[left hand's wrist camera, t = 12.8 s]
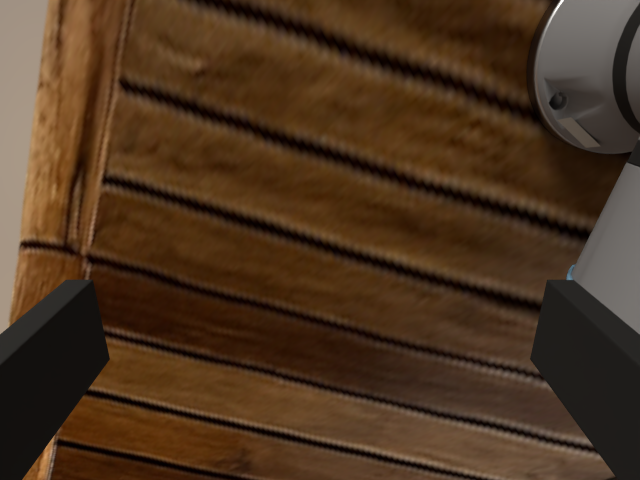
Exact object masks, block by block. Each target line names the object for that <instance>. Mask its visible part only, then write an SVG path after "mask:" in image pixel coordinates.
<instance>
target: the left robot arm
mask: <svg viewBox="0 0 640 480" xmlns="http://www.w3.org/2000/svg"><path fill="white" fill-rule="evenodd" d="M527 86H528V92H529V97H530V100H531V104H532V106H533V109H534V111H535V113H536V115H537V117H538V118H539V120H540V121H541V123H542V124H543V125H544V127H545V128H546V129H547V130H548V131H549V132H550V133H551V134H553V135H554V136H555V137H556V138H558V139H559V140H561V141H563V142H565V143H567V144H569V145H572V146H574V147H577V148H581V149H584V150H587V151H591V152H596V153H604V154H617V153H625V152H631V151H632V153H631V155H630V157H629V159H628V161H627V162H626V164H625V166H624V168H623V170H622V172H621V174H620V176H619V178H618V180H617V182H616V184H615V186H614V188H613V190H612V192H611V194H610V196H609V198H608V200H607V202H606V204H605V206H604V208H603V210H602V212H601V214H600V216H599V218H598V220H597V222H596V224H595V226H594V228H593V230H592V232H591V234H590V236H589V238H588V240H587V242H586V244H585V246H584V248H583V251H582V253H581V255H580V257H579V259H578V261H577V263H576V264H575V265H572V266H571V268H570V269H569V271H568V274H567V277H566V280H547V283H546V288H545V293H544V297H543V302H542V307H541V311H540V316H539V321H538V325H537V330H536V335H535V339H534V344H533V349H532V353H531V358H530V359H531V361H532V362H533V364H534V365H535V366H536V368H537V369H538V370H539V372H540V373H541V375H542V376H543V377H544V379H545V380H546V381H547V383H548V384H549V386H550V387H551V388H552V390H553V391H554V392H555V394H556V395H557V397H558V398H559V399H560V401H561V402H562V403H563V405H564V406H565V408H566V409H567V410H568V412H569V413H570V414H571V416H572V417H573V419H574V420H575V421H576V423H577V424H578V425H579V427H580V428H581V430H582V431H583V432H584V434H585V435H586V436H587V438H588V439H589V441H590V442H591V443H592V445H593V446H594V447H595V449H596V450H597V452H598V453H599V454H600V456H601V457H602V458H603V460H604V461H605V463H606V464H607V465H608V467H609V468H610V469H611V471H612V472H613V474H614V475H615V476H616V478H617V479H618V480H640V0H553V2H552V3H551V4H550V6H549V7H548V9H547V10H546V12H545V14H544V15H543V17H542V19H541V21H540V23H539V25H538V27H537V29H536V32H535V35H534V37H533V40H532V43H531V47H530V51H529V56H528V63H527ZM109 359H110V358H109V353H108V349H107V344H106V339H105V335H104V330H103V325H102V321H101V316H100V311H99V307H98V302H97V297H96V293H95V288H94V283H93V280H66V281H64V282H63V283H62V284H61V285H59V286H58V287H57V288H56V289H55V290H53V291H52V292H51V293H50V294H49V295H47V296H46V297H45V298H44V299H43V300H41V301H40V302H39V303H38V304H36V305H35V306H34V307H33V308H32V309H30V310H29V311H28V312H27V313H26V314H24V315H23V316H22V317H21V318H20V319H18V320H17V321H16V322H15V323H14V324H12V325H11V326H10V327H9V328H7V329H6V330H5V331H4V332H3V333H1V334H0V480H22V479H23V478H24V476H25V475H26V474H27V472H28V471H29V469H30V468H31V467H32V465H33V464H34V463H35V461H36V460H37V458H38V457H39V456H40V454H41V453H42V452H43V450H44V449H45V447H46V446H47V445H48V443H49V442H50V441H51V439H52V438H53V436H54V435H55V434H56V432H57V431H58V430H59V428H60V427H61V425H62V424H63V423H64V421H65V420H66V419H67V417H68V416H69V414H70V413H71V412H72V410H73V409H74V408H75V406H76V405H77V403H78V402H79V401H80V399H81V398H82V397H83V395H84V394H85V392H86V391H87V390H88V388H89V387H90V386H91V384H92V383H93V381H94V380H95V379H96V377H97V376H98V375H99V373H100V372H101V370H102V369H103V368H104V366H105V365H106V364H107V362H108V361H109Z"/></svg>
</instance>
